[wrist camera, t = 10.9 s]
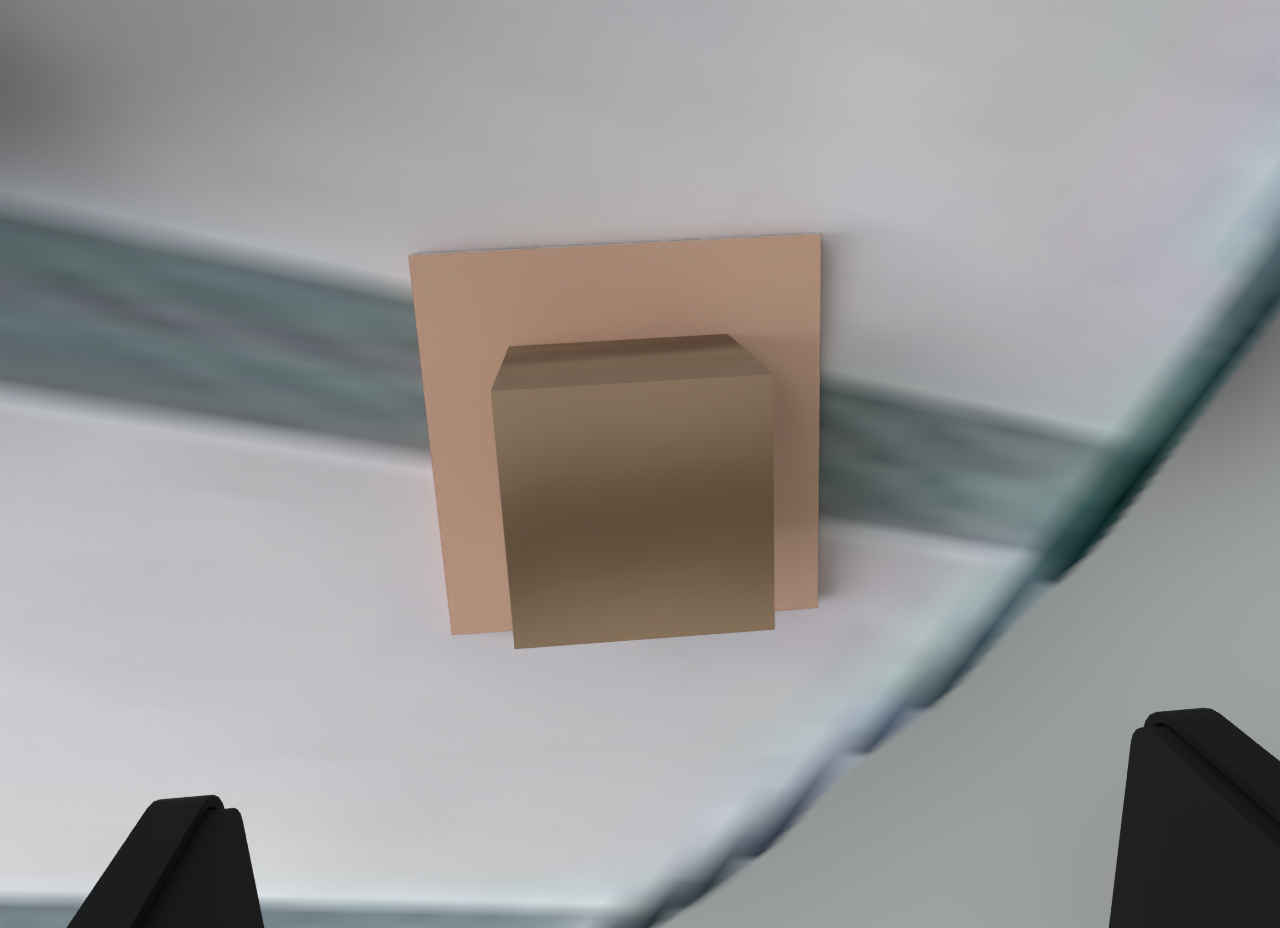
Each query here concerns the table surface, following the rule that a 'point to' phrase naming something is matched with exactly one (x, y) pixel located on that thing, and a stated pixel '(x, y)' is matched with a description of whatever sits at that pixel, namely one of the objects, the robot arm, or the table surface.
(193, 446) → the table surface
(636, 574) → the walnut block
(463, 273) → the coaster
